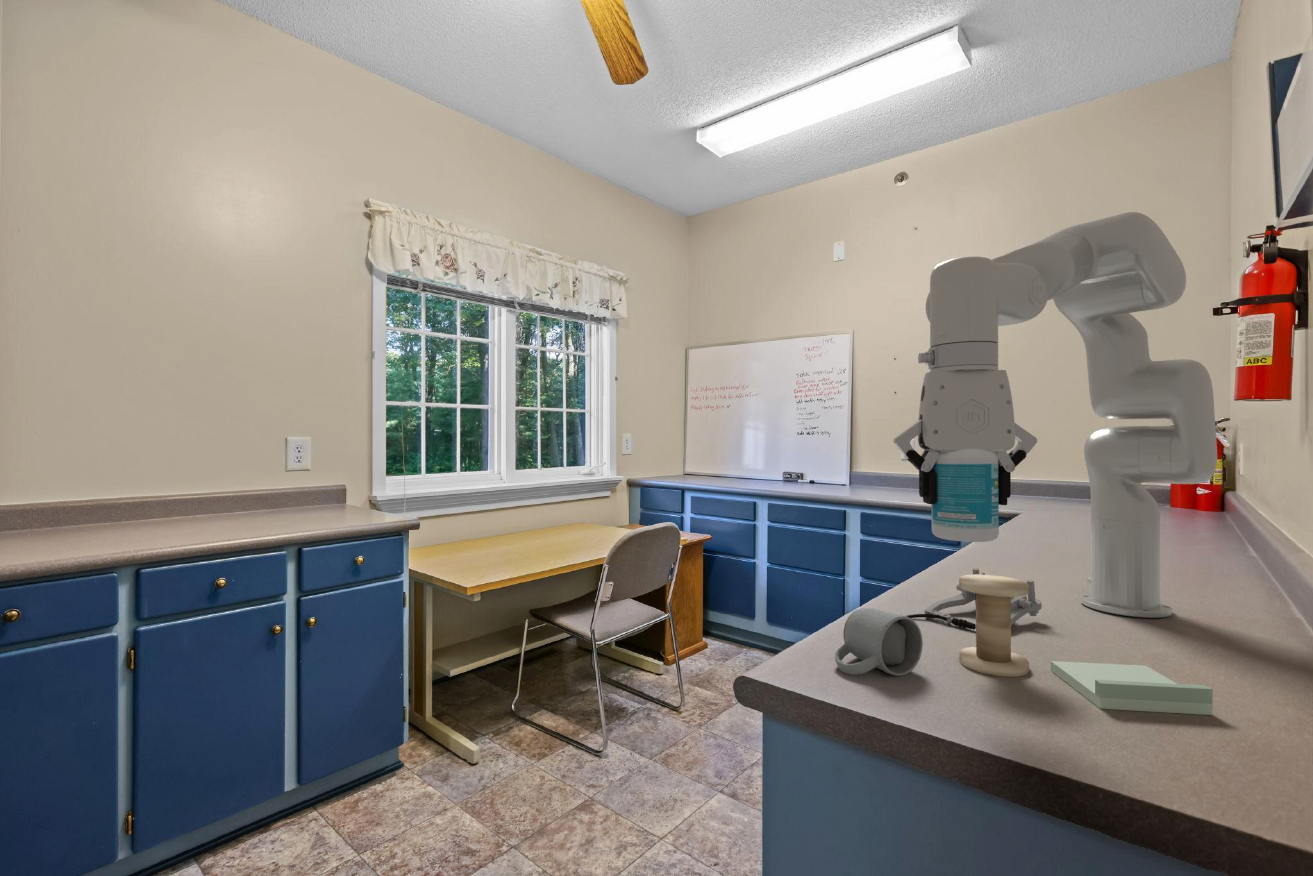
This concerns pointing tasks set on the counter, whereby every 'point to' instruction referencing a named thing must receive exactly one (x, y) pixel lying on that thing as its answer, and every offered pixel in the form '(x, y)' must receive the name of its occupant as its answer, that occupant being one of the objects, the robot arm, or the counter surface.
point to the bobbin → (993, 626)
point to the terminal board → (1133, 688)
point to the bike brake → (1018, 604)
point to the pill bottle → (966, 496)
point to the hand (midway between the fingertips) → (963, 502)
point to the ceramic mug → (880, 642)
